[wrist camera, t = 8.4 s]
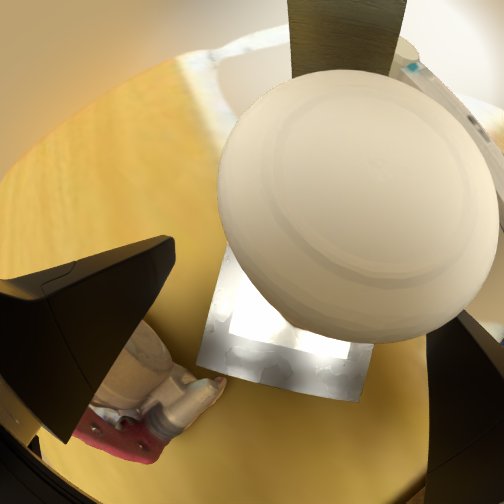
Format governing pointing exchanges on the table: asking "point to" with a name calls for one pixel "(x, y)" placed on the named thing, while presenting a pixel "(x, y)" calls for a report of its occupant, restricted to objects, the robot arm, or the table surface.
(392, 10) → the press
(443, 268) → the sprinkles bottle
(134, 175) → the table surface
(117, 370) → the brake caliper
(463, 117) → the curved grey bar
